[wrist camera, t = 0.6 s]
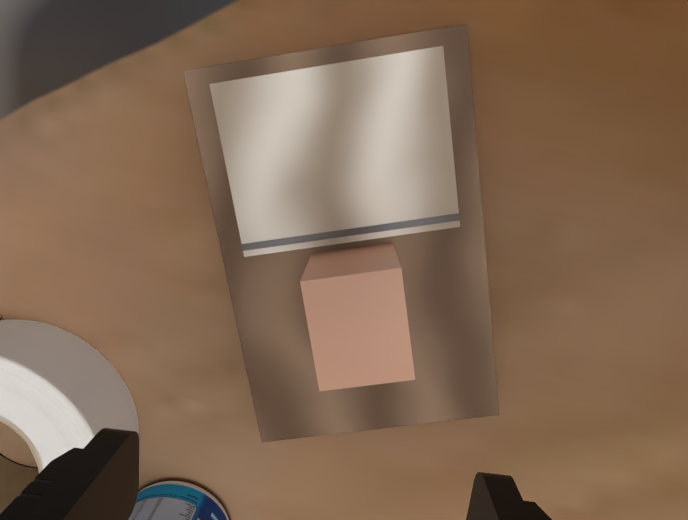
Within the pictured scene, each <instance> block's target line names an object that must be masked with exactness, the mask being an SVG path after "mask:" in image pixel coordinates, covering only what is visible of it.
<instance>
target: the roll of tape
mask: <svg viewBox="0 0 688 520" xmlns="http://www.w3.org/2000/svg"><path fill="white" fill-rule="evenodd" d="M0 317H1V315H0ZM0 422H2V423H4V424H5V425H7V426H9V427H10V428H11V429H13V430H14V431H15V432H16V433H17V434H18V435H20V436H21V437H22V439H23V440H24V441H25V442H26V443H27V444H28V446H29V448H30V450H31V452H32V454H33V456H34V458H35V461H36V463H37V466H38V468H32V467H26V466H22V465H19V464H16V463H13V462H11V461H9V460H8V459H6V458H4V457H3V456H1V455H0V514H1V513H2V512H3V510H4V509H5V508H6V507H7V506H8V505H9V504H10V503H11V502H12V501H13V500H14V499H15V498H16V497H17V496H20V495H21V492H22V491H23V490H24V489H25V488H26V487H27V486H28V485H29V484H30V482H31V481H32V482H34V480H35V477H36V476H37V475H38V474H39V473H40V472H41V471H42V470H43V469H44V468H45V467H46V466H47V465H48V464H49V463H50V462H51V461H52V460H54V459H55V458H57V457H59V456H61V455H62V454H64V453H66V452H67V451H69V450H71V449H73V448H82V449H84V447H85V446H86V445H87V444H88V443H89V442H90V441H91V440H92V439H93V437H94V436H95V435H96V434H97V433H98V432H99V431H100V430H101V429H103V428H111V429H120V430H128V431H136V432H137V433H138V436H139V424H138V417H137V412H136V408H135V405H134V402H133V399H132V397H131V394H130V392H129V390H128V388H127V386H126V384H125V382H124V381H123V379H122V378H121V376H120V375H119V373H118V372H117V370H116V369H115V368H114V367H113V366H112V365H111V363H110V362H109V361H108V360H107V359H106V358H105V357H104V356H103V355H102V354H101V353H100V352H98V351H97V350H96V349H95V348H94V347H92V346H91V345H90V344H88V343H87V342H85V341H84V340H82V339H81V338H79V337H77V336H76V335H74V334H72V333H70V332H68V331H66V330H63V329H61V328H59V327H56V326H53V325H50V324H47V323H43V322H38V321H32V320H19V319H10V320H0Z"/></svg>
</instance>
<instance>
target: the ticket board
mask: <svg viewBox="0 0 688 520" xmlns="http://www.w3.org/2000/svg"><path fill="white" fill-rule="evenodd" d="M183 73H184V78H185V83H186V87H187V92H188V97H189V101H190V106H191V111H192V116H193V120H194V125H195V130H196V134H197V139H198V144H199V148H200V153H201V158H202V163H203V167H204V172H205V177H206V181H207V186H208V191H209V195H210V200H211V205H212V210H213V214H214V219H215V224H216V228H217V233H218V238H219V243H220V247H221V252H222V257H223V261H224V266H225V271H226V275H227V280H228V285H229V290H230V294H231V299H232V304H233V308H234V313H235V318H236V322H237V327H238V332H239V337H240V341H241V346H242V351H243V355H244V360H245V365H246V370H247V374H248V379H249V384H250V388H251V393H252V398H253V402H254V407H255V412H256V417H257V421H258V426H259V431H260V435H261V440H262V442H267V441H276V440H285V439H293V438H302V437H311V436H320V435H328V434H337V433H346V432H354V431H363V430H372V429H381V428H389V427H398V426H407V425H415V424H424V423H433V422H442V421H450V420H459V419H468V418H476V417H485V416H494V415H499V405H498V393H497V381H496V369H495V357H494V344H493V332H492V320H491V308H490V296H489V284H488V272H487V260H486V248H485V235H484V223H483V211H482V199H481V187H480V175H479V163H478V151H477V139H476V127H475V114H474V102H473V90H472V78H471V66H470V54H469V42H468V30H467V24H463V25H457V26H451V27H445V28H439V29H433V30H427V31H421V32H415V33H409V34H403V35H397V36H391V37H385V38H379V39H373V40H367V41H361V42H355V43H348V44H342V45H336V46H330V47H324V48H318V49H312V50H306V51H300V52H294V53H288V54H282V55H276V56H270V57H264V58H258V59H252V60H246V61H240V62H234V63H228V64H222V65H216V66H210V67H204V68H198V69H192V70H186V71H183ZM388 243H393V245H394V248H395V251H396V254H397V256H398V259H399V262H400V265H401V269H402V277H403V285H404V293H405V301H406V309H407V317H408V325H409V333H410V341H411V349H412V357H413V365H414V373H415V380H410V381H401V382H393V383H385V384H376V385H368V386H360V387H352V388H343V389H335V390H327V391H319V386H318V381H317V375H316V369H315V364H314V358H313V353H312V347H311V341H310V336H309V330H308V324H307V319H306V313H305V307H304V302H303V296H302V290H301V285H300V280H301V278H302V276H303V273H304V271H305V268H306V266H307V264H308V261H309V259H310V257H311V254H316V253H323V252H330V251H337V250H344V249H352V248H359V247H366V246H373V245H380V244H388Z"/></svg>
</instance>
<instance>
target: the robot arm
mask: <svg viewBox="0 0 688 520" xmlns="http://www.w3.org/2000/svg"><path fill="white" fill-rule="evenodd" d="M138 487H139V436H138V433H137V432H136V431H128V430H120V429H111V428H103V429H101V430H100V431H99V432H98V433H97V434H96V435H95V436H94V437H93V439H92V440H91V441H90V442H89V443H88V444H87V445H86V446H85V447H84V449H82V448H73V449H71V450H69V451H67V452H66V453H64V454H62V455H61V456H59V457H57V458H55V459H54V460H52V461H51V462H50V463H49V464H48V465H47V466H46V467H45V468H44V469H43V470H42V471H41V472H40V473H39V474H38V475H37V476H36V477H35V480H34V482H32V481H31V482H30V484H29V485H28V486H27V487H26V488H25V489H24V490H23V491H22V492H21V495H20V496H17V497H16V498H15V499H14V500H13V501H12V502H11V503H10V504H9V505H8V506H7V507H6V508H5V509H4V510H3V512H2V513H1V514H0V520H128V519H129V518H130V516H131V514H132V511H133V509H134V506H135V503H136V499H137V495H138ZM466 520H552V519H551V518H550V517H549V516H548V515H547V514H546V513H545V512H544V511H543V510H542V509H541V508H540V507H539V506H538V505H537V504H536V503H535V502H529V501H523V499H522V497H521V495H520V493H519V491H518V488H517V486H516V484H515V482H514V480H513V478H512V477H511V476H508V475H499V474H490V473H482V472H478V473H477V474H476V476H475V479H474V484H473V489H472V494H471V499H470V504H469V509H468V513H467V518H466Z"/></svg>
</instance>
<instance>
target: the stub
mask: <svg viewBox="0 0 688 520" xmlns="http://www.w3.org/2000/svg"><path fill="white" fill-rule="evenodd" d="M300 285H301V290H302V296H303V302H304V307H305V313H306V319H307V324H308V330H309V336H310V341H311V347H312V353H313V358H314V364H315V369H316V375H317V381H318V386H319V391H327V390H335V389H343V388H352V387H360V386H368V385H376V384H385V383H393V382H401V381H410V380H415V373H414V365H413V357H412V349H411V341H410V333H409V325H408V317H407V309H406V301H405V293H404V285H403V277H402V269H401V265H400V262H399V259H398V256H397V254H396V251H395V248H394V245H393V243H388V244H380V245H373V246H366V247H359V248H352V249H344V250H337V251H330V252H323V253H316V254H311V257H310V259H309V261H308V264H307V266H306V268H305V271H304V273H303V276H302V278H301V280H300Z"/></svg>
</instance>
